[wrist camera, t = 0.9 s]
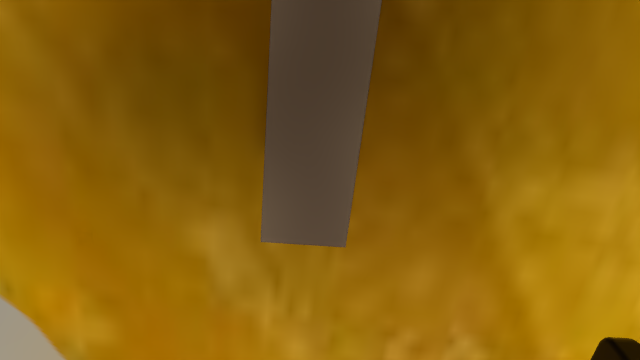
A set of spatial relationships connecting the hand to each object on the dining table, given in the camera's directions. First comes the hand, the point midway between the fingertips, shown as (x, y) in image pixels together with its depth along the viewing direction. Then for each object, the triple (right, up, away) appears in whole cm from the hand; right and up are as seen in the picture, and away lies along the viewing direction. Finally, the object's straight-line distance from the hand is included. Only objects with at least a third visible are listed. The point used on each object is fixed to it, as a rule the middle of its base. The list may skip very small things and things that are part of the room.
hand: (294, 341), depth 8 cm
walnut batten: (+1, +12, +7) cm, 14 cm away
